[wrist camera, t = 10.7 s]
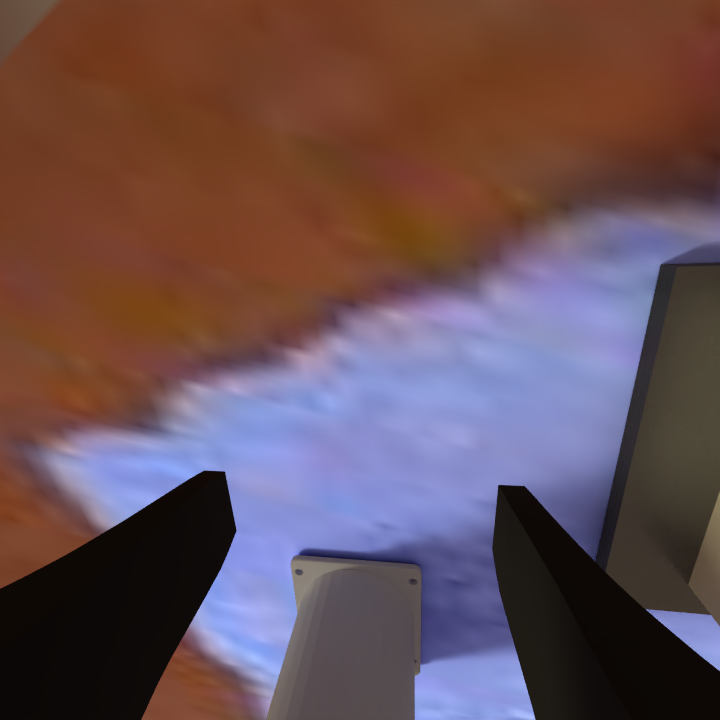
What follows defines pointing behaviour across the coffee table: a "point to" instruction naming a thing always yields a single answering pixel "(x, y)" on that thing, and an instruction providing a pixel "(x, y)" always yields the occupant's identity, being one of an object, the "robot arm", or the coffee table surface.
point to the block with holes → (709, 567)
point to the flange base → (669, 446)
